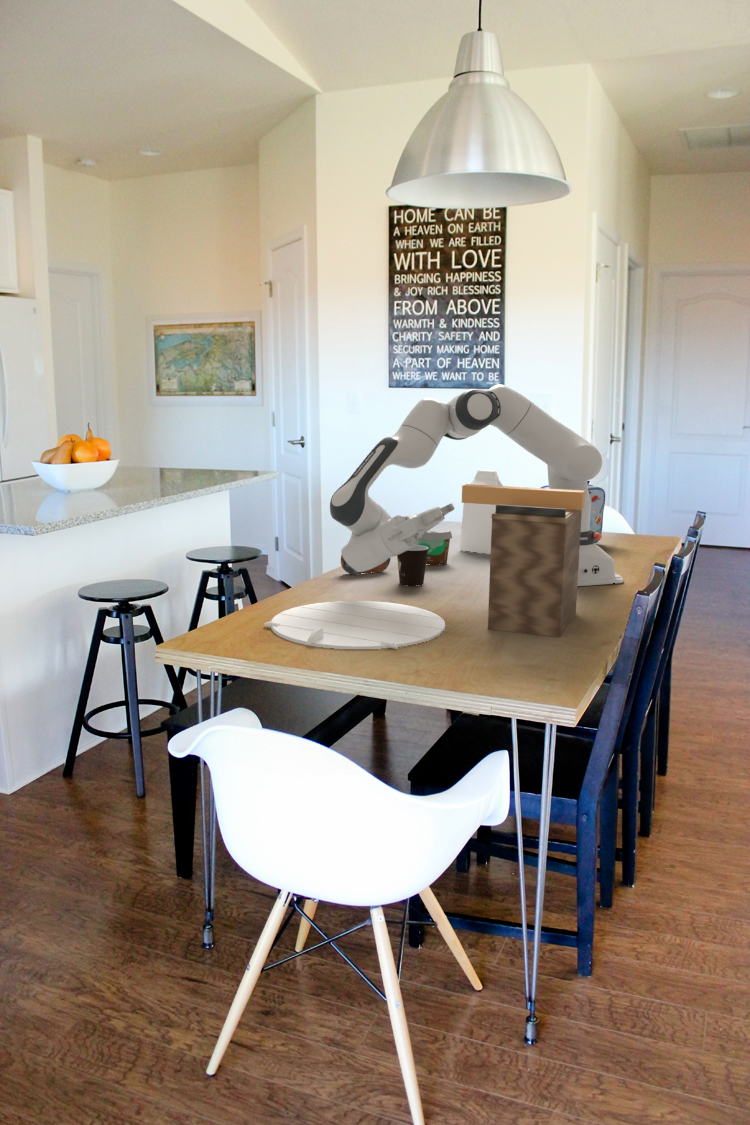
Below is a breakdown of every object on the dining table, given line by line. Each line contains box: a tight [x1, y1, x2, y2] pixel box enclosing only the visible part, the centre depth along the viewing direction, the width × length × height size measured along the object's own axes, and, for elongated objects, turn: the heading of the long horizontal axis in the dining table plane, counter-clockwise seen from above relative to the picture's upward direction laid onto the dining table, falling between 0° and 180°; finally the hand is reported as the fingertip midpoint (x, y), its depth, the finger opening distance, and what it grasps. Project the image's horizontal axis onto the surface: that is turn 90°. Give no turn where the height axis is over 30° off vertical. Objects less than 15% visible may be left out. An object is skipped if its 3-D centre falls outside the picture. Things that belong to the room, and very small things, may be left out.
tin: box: [340, 554, 391, 576], centre depth 261 cm, size 15×3×8 cm, turn 117°
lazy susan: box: [263, 600, 446, 650], centre depth 206 cm, size 40×39×3 cm
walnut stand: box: [487, 504, 582, 638], centre depth 209 cm, size 16×23×28 cm
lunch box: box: [540, 480, 606, 544], centre depth 308 cm, size 28×10×22 cm, turn 123°
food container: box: [415, 530, 453, 566], centre depth 275 cm, size 12×6×10 cm, turn 68°
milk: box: [459, 469, 504, 555], centre depth 297 cm, size 12×12×26 cm
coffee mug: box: [396, 545, 428, 587], centre depth 249 cm, size 12×9×10 cm
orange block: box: [461, 483, 585, 510], centre depth 213 cm, size 28×4×4 cm, turn 69°
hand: (447, 508), depth 220 cm, fingers open, 8 cm apart
